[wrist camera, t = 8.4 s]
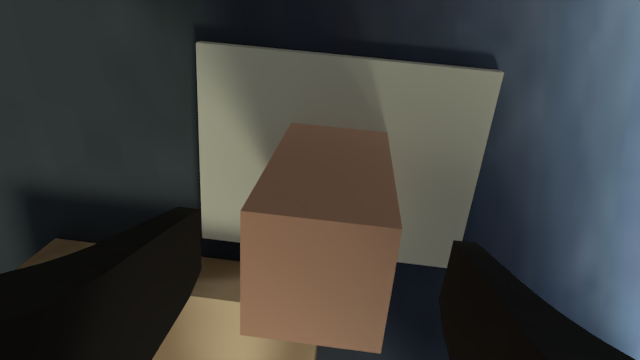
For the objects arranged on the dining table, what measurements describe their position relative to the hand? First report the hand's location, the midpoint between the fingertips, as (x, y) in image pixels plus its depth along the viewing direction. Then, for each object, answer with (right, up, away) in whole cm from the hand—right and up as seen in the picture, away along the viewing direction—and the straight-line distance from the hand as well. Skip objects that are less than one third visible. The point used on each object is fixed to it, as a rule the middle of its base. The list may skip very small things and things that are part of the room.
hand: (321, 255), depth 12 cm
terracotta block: (+1, +2, +6) cm, 7 cm away
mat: (+1, +3, +7) cm, 8 cm away
